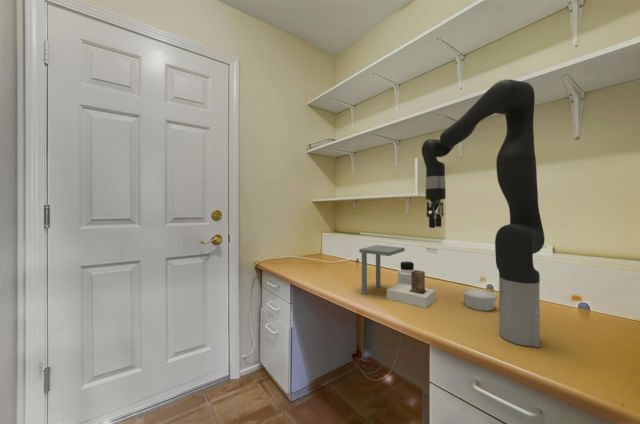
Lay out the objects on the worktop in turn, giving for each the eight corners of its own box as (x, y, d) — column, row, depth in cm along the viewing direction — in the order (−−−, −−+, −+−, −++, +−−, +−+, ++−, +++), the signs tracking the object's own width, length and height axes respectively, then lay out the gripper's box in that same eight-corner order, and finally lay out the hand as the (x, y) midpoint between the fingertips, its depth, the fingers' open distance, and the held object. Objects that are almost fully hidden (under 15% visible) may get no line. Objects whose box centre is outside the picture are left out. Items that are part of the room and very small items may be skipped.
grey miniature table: (404, 291, 116) (404, 247, 116) (389, 301, 104) (388, 252, 104) (376, 285, 125) (376, 245, 125) (359, 293, 113) (359, 249, 113)
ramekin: (463, 299, 106) (463, 286, 106) (496, 304, 100) (496, 291, 100) (461, 308, 96) (461, 294, 96) (497, 315, 90) (497, 300, 90)
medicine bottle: (417, 288, 120) (417, 263, 120) (402, 288, 120) (401, 263, 120) (412, 284, 127) (411, 260, 127) (397, 284, 127) (397, 260, 127)
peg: (424, 300, 105) (424, 271, 104) (421, 303, 101) (421, 273, 101) (415, 298, 107) (414, 270, 107) (411, 301, 104) (411, 271, 104)
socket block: (435, 299, 106) (435, 290, 106) (425, 308, 96) (425, 297, 96) (398, 291, 116) (398, 282, 116) (386, 298, 107) (386, 289, 107)
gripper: (440, 186, 97) (440, 228, 97) (449, 188, 108) (449, 226, 108) (420, 187, 102) (420, 227, 102) (431, 189, 113) (431, 226, 113)
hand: (435, 227), depth 105 cm, fingers open, 8 cm apart
